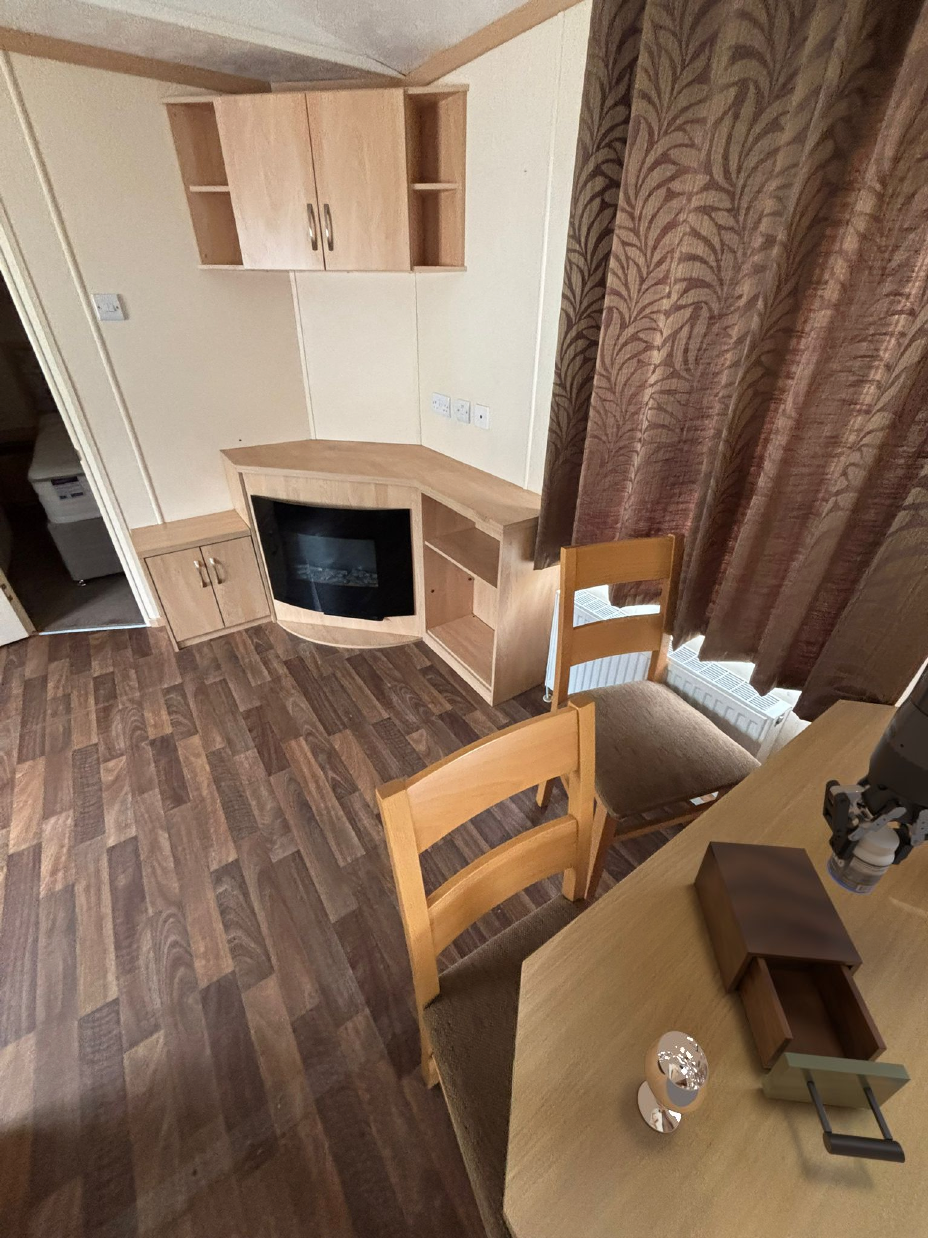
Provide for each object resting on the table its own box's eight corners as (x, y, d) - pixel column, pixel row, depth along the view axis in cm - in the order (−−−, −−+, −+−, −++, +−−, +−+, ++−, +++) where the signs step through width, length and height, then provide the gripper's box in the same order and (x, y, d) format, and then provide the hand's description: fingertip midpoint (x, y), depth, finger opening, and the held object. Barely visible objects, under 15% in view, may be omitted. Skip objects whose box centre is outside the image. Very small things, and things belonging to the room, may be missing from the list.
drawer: (908, 1182, 51) (949, 1156, 47) (786, 1167, 52) (814, 1139, 48) (816, 971, 67) (840, 937, 63) (724, 962, 68) (741, 928, 64)
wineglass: (621, 1105, 57) (640, 1059, 51) (647, 1058, 60) (668, 1010, 54) (671, 1158, 53) (698, 1116, 47) (696, 1106, 57) (725, 1060, 50)
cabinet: (831, 1004, 65) (863, 963, 59) (725, 994, 66) (748, 952, 61) (781, 890, 77) (804, 848, 72) (693, 883, 78) (709, 840, 73)
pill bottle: (825, 852, 64) (851, 806, 60) (871, 870, 62) (902, 825, 58) (824, 883, 61) (852, 838, 57) (873, 904, 59) (906, 858, 54)
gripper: (877, 769, 48) (812, 880, 57) (1047, 782, 47) (954, 893, 56) (835, 714, 54) (783, 821, 63) (985, 724, 53) (910, 832, 62)
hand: (863, 854), depth 59 cm, fingers closed on pill bottle, 4 cm apart
